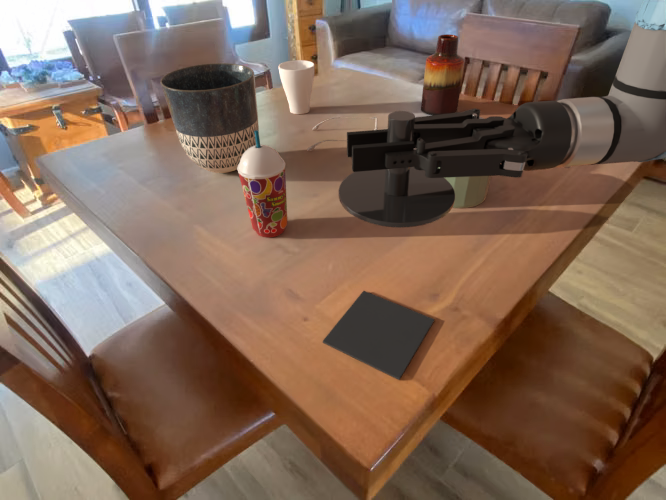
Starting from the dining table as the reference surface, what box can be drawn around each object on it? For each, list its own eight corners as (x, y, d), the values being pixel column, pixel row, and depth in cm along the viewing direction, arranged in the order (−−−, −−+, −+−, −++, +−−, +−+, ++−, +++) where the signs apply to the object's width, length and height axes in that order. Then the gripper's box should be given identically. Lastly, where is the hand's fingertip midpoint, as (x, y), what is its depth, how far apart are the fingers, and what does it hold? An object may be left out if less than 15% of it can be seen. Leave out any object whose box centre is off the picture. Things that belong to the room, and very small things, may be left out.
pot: (493, 186, 93) (501, 150, 88) (475, 214, 85) (483, 176, 80) (438, 173, 99) (443, 138, 93) (416, 197, 90) (420, 161, 85)
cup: (290, 119, 126) (286, 72, 118) (277, 108, 134) (272, 63, 125) (322, 113, 130) (320, 66, 122) (308, 102, 137) (305, 58, 129)
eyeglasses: (377, 153, 108) (378, 138, 105) (306, 152, 109) (305, 138, 106) (376, 128, 120) (377, 114, 117) (312, 128, 121) (311, 115, 118)
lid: (469, 188, 52) (486, 106, 46) (426, 246, 44) (438, 155, 37) (372, 163, 58) (375, 87, 52) (316, 210, 50) (311, 125, 43)
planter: (260, 145, 113) (248, 59, 100) (272, 179, 98) (259, 84, 85) (184, 155, 109) (161, 68, 96) (185, 192, 95) (158, 95, 81)
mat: (434, 321, 63) (434, 319, 63) (399, 380, 56) (399, 378, 55) (363, 292, 69) (363, 290, 68) (322, 342, 61) (322, 340, 60)
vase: (415, 113, 128) (423, 39, 115) (427, 101, 135) (435, 30, 123) (451, 118, 124) (462, 42, 111) (461, 106, 131) (472, 33, 119)
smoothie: (282, 245, 79) (269, 144, 66) (241, 238, 81) (221, 139, 68) (298, 220, 85) (289, 123, 73) (259, 214, 87) (244, 119, 74)
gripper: (583, 199, 45) (362, 220, 43) (514, 137, 57) (340, 152, 55) (611, 131, 40) (363, 151, 38) (528, 79, 52) (339, 93, 50)
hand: (350, 151), depth 46 cm, fingers closed on lid, 3 cm apart
